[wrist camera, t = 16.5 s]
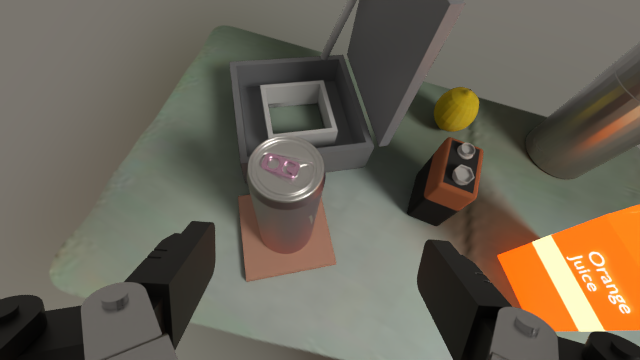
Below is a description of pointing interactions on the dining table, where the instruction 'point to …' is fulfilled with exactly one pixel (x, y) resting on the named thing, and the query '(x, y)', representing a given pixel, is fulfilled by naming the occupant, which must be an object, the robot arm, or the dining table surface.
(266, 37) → the dining table surface
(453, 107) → the fruit
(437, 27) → the equipment case
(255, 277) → the mat
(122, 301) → the robot arm
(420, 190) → the battery
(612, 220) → the orange juice
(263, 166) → the beverage can
